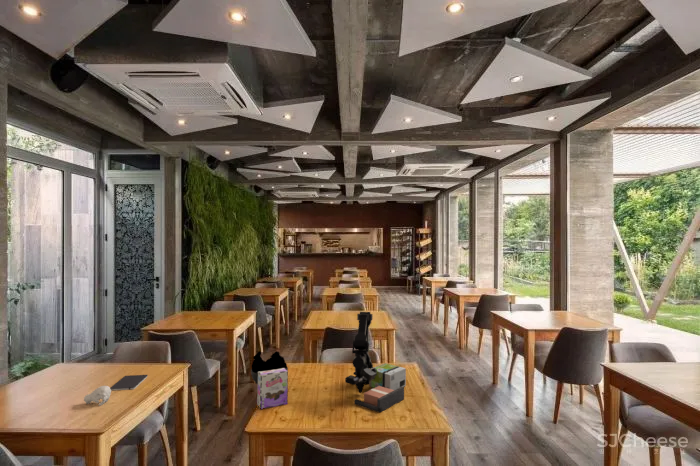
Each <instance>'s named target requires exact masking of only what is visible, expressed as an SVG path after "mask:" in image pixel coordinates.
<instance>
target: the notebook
mask: <svg viewBox="0 0 700 466" xmlns="http://www.w3.org/2000/svg"><path fill="white" fill-rule="evenodd" d="M147 378H148V374H135V375H134V374H133V375H124V376H123V377H122V378H120V379H119V380H118V381H117V382H115V383H114V384H113V385H112V386H111V387H110V390H111V392H112V391H125V390H126V391H129V390H135V389H136V388H138V386H140V384H141V383H143V382H144V381H145V380H146V379H147Z"/></svg>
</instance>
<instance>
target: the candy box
mask: <svg viewBox="0 0 700 466" xmlns="http://www.w3.org/2000/svg"><path fill="white" fill-rule="evenodd" d="M288 371H289V370H288ZM288 371H287V370H286V369H285V368H281V369H275V370H268V371H261V372H258V385H257V395H256V396H257V399H256V402H257V403H256V405H257V406H259V405H260V406H259V407H260V408H261V409H260V408H259V407H258V408H259V409H260V410H262V409H263V408H265V409H268V408H275V407H278V406H286V405H288V401H289V400H288V398H289V397H288V395H289V393H288V392H289V388H288V387H289V383H288V382H289V374H288V373H289V372H288ZM263 410H264V409H263Z"/></svg>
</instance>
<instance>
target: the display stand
mask: <svg viewBox="0 0 700 466" xmlns="http://www.w3.org/2000/svg"><path fill="white" fill-rule="evenodd" d="M403 400H405V386H404V387H400V388H398V389H396V390H394V391H392V392H390V393H388V394H386V395H384V396H382V397H380V398H378V399H377V406H376V405H373V404H370V403H367V402H364V400H360V399H357V398H355V399H354V401H353V402H354V405H356V406H359V407H361V408H365V409H368V410H370V411H374V412H376V413H378V414H381V413H383V412H384V411H385V410H388V409H389V408H391V407H393V406H395V405H396V404H398V403H400V402H402V401H403Z"/></svg>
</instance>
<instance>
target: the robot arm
mask: <svg viewBox="0 0 700 466" xmlns="http://www.w3.org/2000/svg"><path fill="white" fill-rule="evenodd" d="M356 318H357V321H358V330H357V334H355V336H354V340H353V341H352V352H351V353H352V354H354V358H353V360H352V366H353V367H354V372H353V375H348V376H346V377H345V378H344V380H345V383H346V384H349V385H353V386H355V387H356V388H357V391H358V393H359V394H362V393H363V390H364V387H365V385H369V381H371V380H373V379H374V378H375V376H376V375H377V369H376V368H373V367H374V364H373V363H372V361H371V356H370V355H369V351H370V350H369V349H370V343H369V328H370V326H371V324H372V321H373V319H374V318H373V313H371V311H359V313H357V316H356ZM371 368H373V369H371Z"/></svg>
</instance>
